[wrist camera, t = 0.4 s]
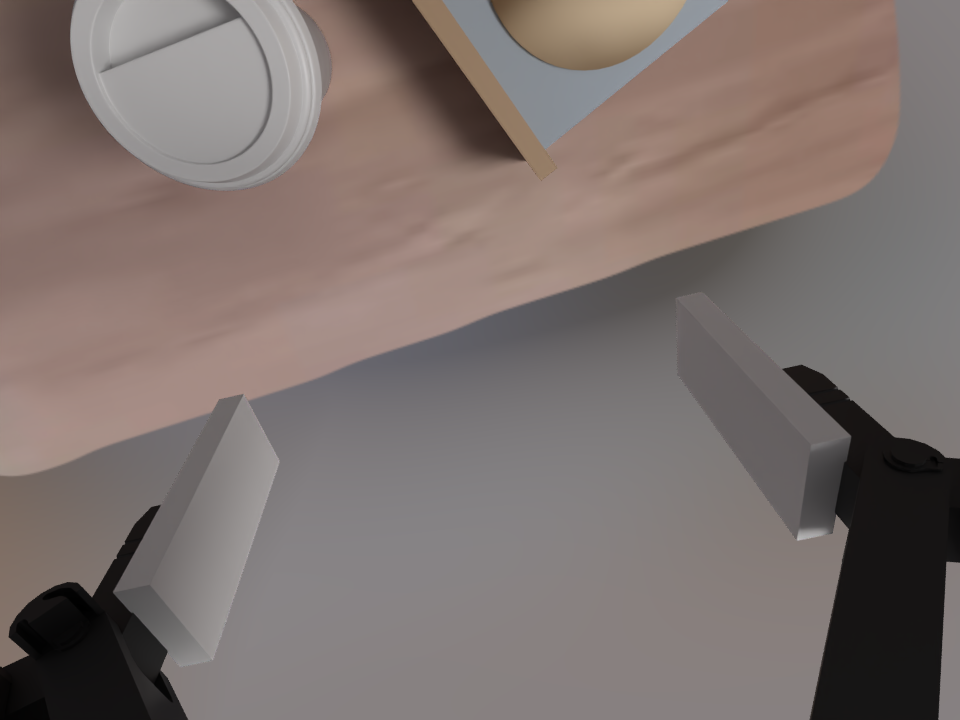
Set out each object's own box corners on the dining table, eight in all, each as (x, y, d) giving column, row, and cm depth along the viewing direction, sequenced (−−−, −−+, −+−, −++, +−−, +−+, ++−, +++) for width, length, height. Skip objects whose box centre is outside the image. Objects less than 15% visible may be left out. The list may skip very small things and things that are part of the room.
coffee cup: (353, -27, 32) (301, -67, 19) (359, 147, 37) (320, 208, 24) (181, -43, 31) (3, -97, 18) (210, 137, 36) (86, 196, 23)
